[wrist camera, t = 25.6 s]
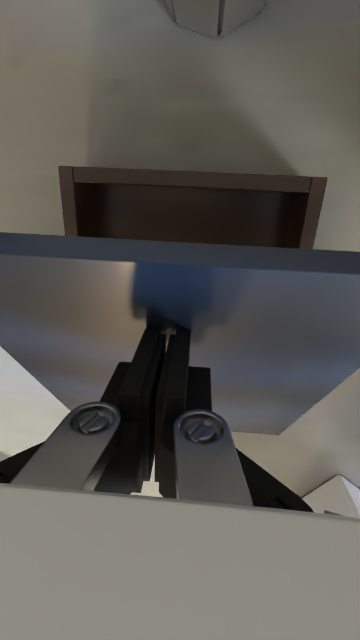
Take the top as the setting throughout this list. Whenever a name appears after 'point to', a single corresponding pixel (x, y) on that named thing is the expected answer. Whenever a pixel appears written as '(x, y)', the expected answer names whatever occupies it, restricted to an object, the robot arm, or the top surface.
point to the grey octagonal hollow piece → (213, 14)
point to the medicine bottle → (335, 498)
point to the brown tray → (191, 206)
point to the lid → (184, 318)
